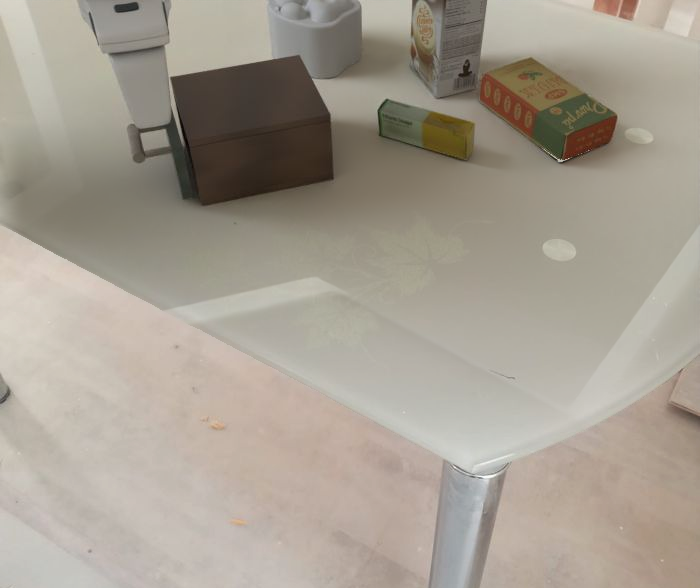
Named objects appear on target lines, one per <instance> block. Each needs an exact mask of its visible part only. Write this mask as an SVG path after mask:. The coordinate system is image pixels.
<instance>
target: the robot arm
mask: <svg viewBox="0 0 700 588" xmlns="http://www.w3.org/2000/svg"><path fill="white" fill-rule="evenodd" d="M76 2H77V6H78V9H79V10H78V11H79V14H80V16H81V19H82V20H83V21H84V22H85V23H86V24H87V26H88V27H89V29H90V30H91V31H92V32H93V35H94V38H95V39H96V43H97V46H98V48H99V50H100V52H101V54H104V55H105V54H106V55H107V57H108V60H109V63H110V66H111V69H112V71H113V74H114V76H115V79H116V82H117V84H118V88H119V91H120V93H121V96H122V98H123V101H124V103H125V104H124V105H125V107H126V109H127V112H128V114H129V117H130V118H131V121H132V124H135V126H136V127H137V128H140V129H142V128H150V127H156V126H161V125H166V124H168V123H170V121H171V107H172V100H171V99H172V98H171V90H170V88H171V87H170V77H169V70H168V60H167V59H168V58H167V50H166V45H169V44H170V42H171V38H170V30H169V17H170V12H171V8H172V0H76Z"/></svg>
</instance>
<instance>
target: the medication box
mask: <svg viewBox="0 0 700 588" xmlns="http://www.w3.org/2000/svg"><path fill="white" fill-rule="evenodd" d="M376 111H377V122H378V123H377V124H378V134H379V136H382V137H386V138H388V139H389V138H390V139H393V140H396V141H399V142H402V143H406V144H410V145H412V146H413V145H414V146H417V147H419V148H423V149H425V150H429V151H432V152H437V153H440V154H442V155H446V154H447V156H450V155H451V156H450V157H453V156H454V157H453V158H456V157H458V158H457V159H460V158H462V159H461V160H463V159H467V158H468V159H469V157H470V156H471V155H472V153H473V151H474V149H475V136H476V135H475V134H476V132H475V131H476V122H473V121H470V120H466V119H462V118H458V117H455V116H451V115H447V114H444V113H440V112H436V111H434V110H429V109H426V108H423V107H418V106H416V105H415V106H414V105H411V104H407V103H403V102H401V101H397V100H393V99H390V98H385V99H384V100H383V102H382V103H381V104H380V105H379V106H378V108H377V110H376ZM468 159H467V160H468Z"/></svg>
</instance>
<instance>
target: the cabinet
mask: <svg viewBox="0 0 700 588" xmlns="http://www.w3.org/2000/svg"><path fill="white" fill-rule="evenodd" d="M169 82H170V84H171V90H172V95H173V100H174V104H175V108H176V113H177V117H178V123H179V127H180V131H181V136H182V140H183V144H184V148H185V151H186V154H187V159H188V162H189V165H190V169H191V173H192V177H193V178H194V183H195V187H196V190H197V194H198V197H199V201H200V204H201V206H202V207H204V206H209V205H213V204H219V203H224V202H227V201H228V202H229V201H233V200H238V199H243V198H247V197H254V196H257V195H262V194H268V193H273V192H277V191H282V190H286V189H292V188H298V187H302V186H306V184H307V185H311V183H312V184H317V183H321V181H322V182H327V181H331V180H330V179H332V180H334V179H335V178H334V177H335V175H334V159H333V158H334V157H333V156H334V155H333V135H332V132H333V131H332V117H331V115H332V114H331V113H330V111H329V109H328V106H327V105H326V103H325V101H324V98H323V97H322V95H321V93H320V91H319V90H318V88H317V85H316V84H315V82H314V80H313V77H311V76H310V74H309V72H308V70H307V68H306V66H305V65H304V63H303V61H302V59H301V57H300V55H295V56H289V57H284V58H278V59H274V58H273V59H267V60H261V61H255V62H250V63H244V64H238V65H232V66H226V67H222V68H221V67H220V68H215V69H209V70H203V71H197V72H191V73H186V74H180V75H174V76H170V77H169ZM326 180H327V181H326ZM316 182H317V183H316Z"/></svg>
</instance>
